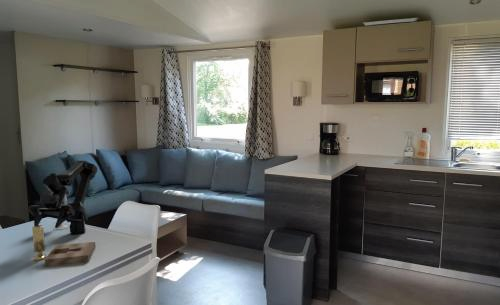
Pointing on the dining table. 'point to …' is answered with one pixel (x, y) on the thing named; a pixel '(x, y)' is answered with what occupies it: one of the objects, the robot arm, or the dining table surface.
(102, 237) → the dining table surface
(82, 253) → the keyhole board
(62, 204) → the wineglass
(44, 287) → the dining table surface
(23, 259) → the dining table surface
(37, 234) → the peg
